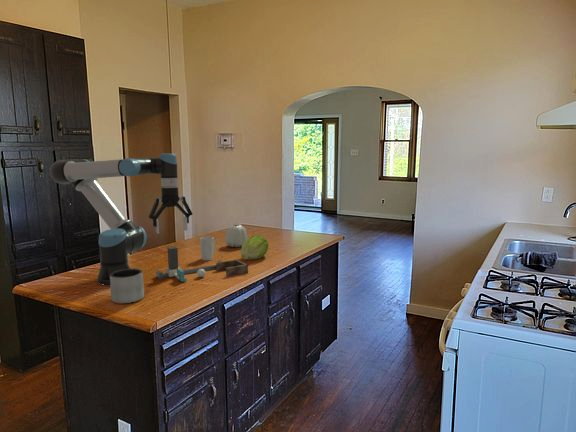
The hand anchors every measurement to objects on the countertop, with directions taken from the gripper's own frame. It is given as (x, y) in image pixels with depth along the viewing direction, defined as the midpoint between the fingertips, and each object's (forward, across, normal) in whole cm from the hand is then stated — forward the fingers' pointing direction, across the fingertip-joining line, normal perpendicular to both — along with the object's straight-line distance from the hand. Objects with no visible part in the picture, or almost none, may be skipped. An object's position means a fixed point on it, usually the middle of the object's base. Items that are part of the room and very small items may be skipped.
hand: (171, 231), depth 197 cm
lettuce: (+22, +47, +6) cm, 52 cm away
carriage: (+21, 0, -5) cm, 22 cm away
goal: (+21, +25, -10) cm, 35 cm away
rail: (+21, +9, 0) cm, 23 cm away
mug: (+22, +27, +20) cm, 40 cm away
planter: (+22, -26, -21) cm, 40 cm away
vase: (+22, +53, +38) cm, 69 cm away
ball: (+19, +10, -10) cm, 24 cm away
